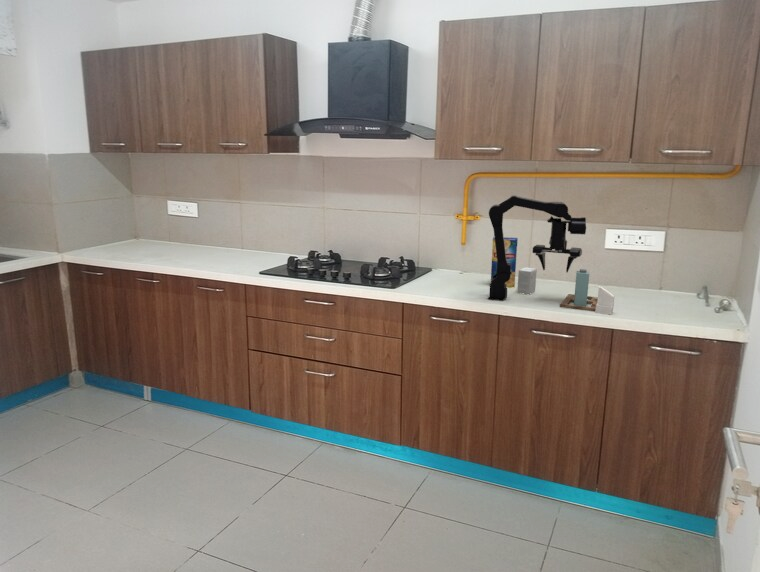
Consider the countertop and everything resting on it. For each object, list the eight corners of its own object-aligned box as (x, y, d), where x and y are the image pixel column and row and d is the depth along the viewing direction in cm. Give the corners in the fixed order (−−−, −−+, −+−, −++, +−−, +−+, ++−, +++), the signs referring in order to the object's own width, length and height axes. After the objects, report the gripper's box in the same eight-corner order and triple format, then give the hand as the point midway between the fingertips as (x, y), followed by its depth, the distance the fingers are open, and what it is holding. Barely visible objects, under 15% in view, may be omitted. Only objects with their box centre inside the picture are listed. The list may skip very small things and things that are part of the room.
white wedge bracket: (586, 302, 229) (599, 285, 225) (608, 318, 226) (622, 301, 222) (584, 304, 227) (597, 287, 222) (606, 320, 223) (620, 303, 219)
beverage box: (491, 282, 273) (493, 236, 268) (514, 284, 271) (517, 237, 266) (490, 286, 267) (492, 239, 262) (514, 287, 264) (517, 240, 259)
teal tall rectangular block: (574, 307, 232) (577, 270, 229) (573, 304, 237) (576, 268, 233) (586, 307, 231) (589, 271, 228) (585, 304, 236) (588, 269, 232)
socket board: (559, 307, 232) (559, 302, 232) (568, 296, 249) (568, 292, 248) (596, 311, 226) (596, 307, 226) (602, 300, 242) (603, 296, 242)
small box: (523, 289, 261) (524, 266, 258) (535, 291, 258) (537, 268, 255) (516, 293, 254) (518, 269, 252) (529, 295, 251) (530, 271, 249)
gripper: (585, 232, 236) (582, 270, 240) (539, 229, 245) (537, 265, 248) (581, 236, 227) (577, 275, 230) (533, 232, 235) (530, 270, 239)
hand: (555, 271), depth 237 cm, fingers open, 9 cm apart
